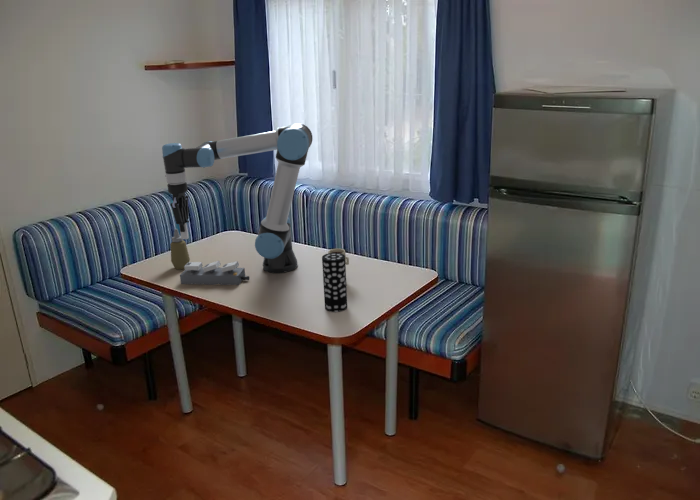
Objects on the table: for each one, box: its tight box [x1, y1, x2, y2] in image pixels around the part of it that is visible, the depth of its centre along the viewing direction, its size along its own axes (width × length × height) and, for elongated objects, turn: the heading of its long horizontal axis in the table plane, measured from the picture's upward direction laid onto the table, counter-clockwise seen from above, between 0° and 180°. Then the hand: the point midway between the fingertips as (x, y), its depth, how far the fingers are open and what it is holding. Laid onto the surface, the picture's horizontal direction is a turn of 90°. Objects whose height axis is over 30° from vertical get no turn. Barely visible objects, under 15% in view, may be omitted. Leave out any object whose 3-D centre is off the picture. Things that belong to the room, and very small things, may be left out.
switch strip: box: [179, 266, 250, 286], centre depth 245 cm, size 28×9×5 cm, turn 83°
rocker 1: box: [184, 261, 203, 271], centre depth 245 cm, size 6×5×2 cm
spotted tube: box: [321, 252, 348, 313], centre depth 213 cm, size 8×8×20 cm
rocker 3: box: [220, 260, 240, 272], centre depth 243 cm, size 6×5×2 cm
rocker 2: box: [203, 260, 221, 272], centre depth 244 cm, size 6×5×2 cm
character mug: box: [327, 248, 350, 266], centre depth 238 cm, size 11×7×13 cm, turn 60°
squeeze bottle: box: [170, 228, 191, 270], centre depth 259 cm, size 8×8×18 cm
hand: (185, 238), depth 242 cm, fingers closed
